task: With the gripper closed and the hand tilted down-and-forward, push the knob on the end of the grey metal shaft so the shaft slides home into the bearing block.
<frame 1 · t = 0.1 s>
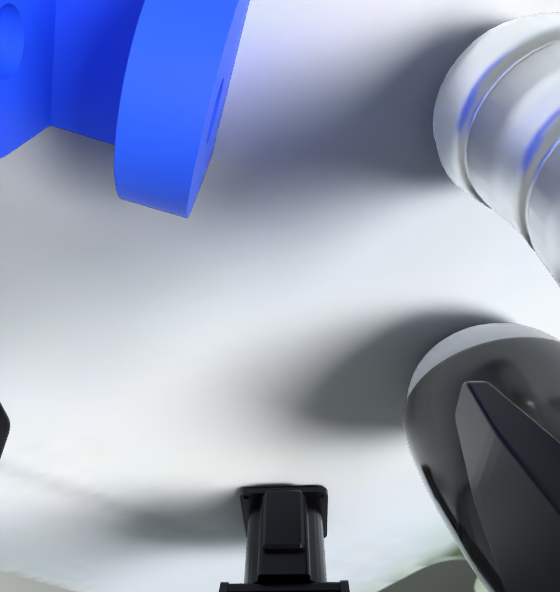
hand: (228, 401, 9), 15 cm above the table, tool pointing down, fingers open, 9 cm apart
plastic bottle: (496, 100, 20), on the table
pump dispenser: (475, 362, 29), on the table
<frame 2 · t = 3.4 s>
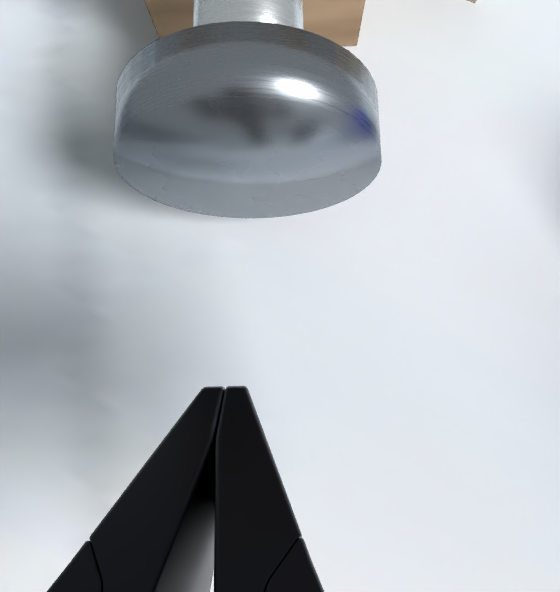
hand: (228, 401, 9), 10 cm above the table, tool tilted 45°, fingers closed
shaft: (248, 5, 16), point 6 cm above the table, slide at 5.0 cm
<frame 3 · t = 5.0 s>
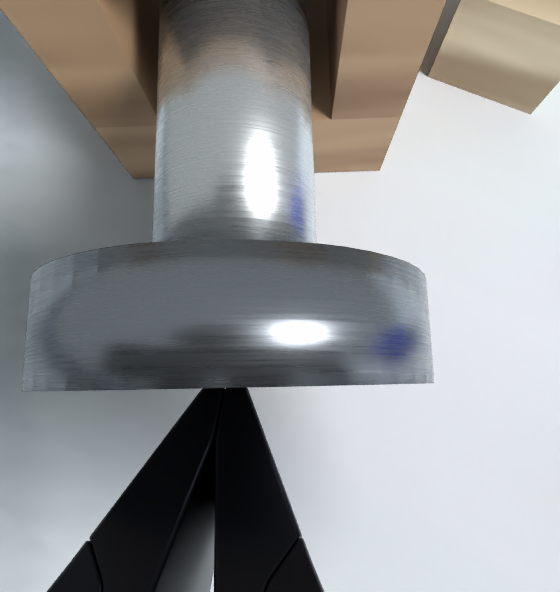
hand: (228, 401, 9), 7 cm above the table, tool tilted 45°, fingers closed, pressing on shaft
shaft: (235, 126, 11), point 6 cm above the table, slide at 3.6 cm, touching gripper
bearing block: (254, 87, 18), on the table
spacer block: (495, 52, 18), on the table
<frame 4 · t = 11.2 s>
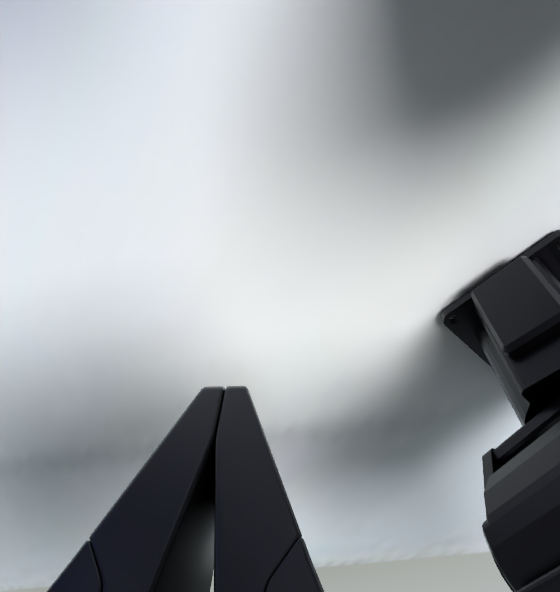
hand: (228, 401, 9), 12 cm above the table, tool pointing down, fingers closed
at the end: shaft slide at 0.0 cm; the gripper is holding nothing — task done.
